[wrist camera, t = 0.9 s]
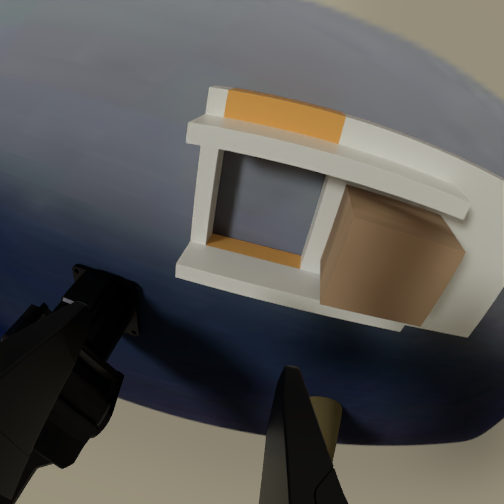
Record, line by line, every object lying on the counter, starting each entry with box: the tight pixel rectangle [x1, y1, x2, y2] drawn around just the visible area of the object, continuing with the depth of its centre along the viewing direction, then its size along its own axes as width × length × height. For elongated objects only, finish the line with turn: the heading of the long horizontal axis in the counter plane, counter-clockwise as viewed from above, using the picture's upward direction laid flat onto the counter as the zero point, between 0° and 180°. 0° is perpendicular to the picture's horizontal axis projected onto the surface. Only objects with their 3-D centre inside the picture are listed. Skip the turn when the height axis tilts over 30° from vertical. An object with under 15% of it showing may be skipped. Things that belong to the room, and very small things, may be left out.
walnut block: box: [320, 184, 466, 327], centre depth 16 cm, size 6×5×4 cm
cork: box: [310, 396, 342, 462], centre depth 26 cm, size 6×6×11 cm
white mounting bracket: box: [176, 85, 504, 338], centre depth 17 cm, size 22×12×4 cm, turn 79°
